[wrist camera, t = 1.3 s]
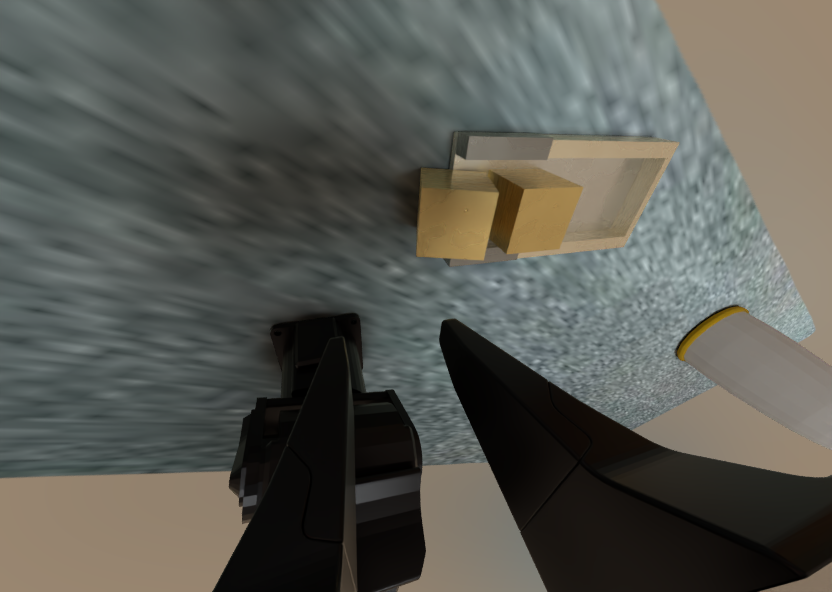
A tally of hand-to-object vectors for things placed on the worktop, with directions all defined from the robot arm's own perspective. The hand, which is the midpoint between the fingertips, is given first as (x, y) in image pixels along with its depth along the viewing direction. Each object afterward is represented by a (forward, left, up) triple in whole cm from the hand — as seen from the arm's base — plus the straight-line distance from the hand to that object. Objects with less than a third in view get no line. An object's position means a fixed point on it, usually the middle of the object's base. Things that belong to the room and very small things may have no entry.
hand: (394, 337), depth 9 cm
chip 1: (0, -6, -11) cm, 13 cm away
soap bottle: (-23, -54, -12) cm, 60 cm away
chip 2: (0, -11, -11) cm, 16 cm away
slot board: (0, -14, -12) cm, 19 cm away
